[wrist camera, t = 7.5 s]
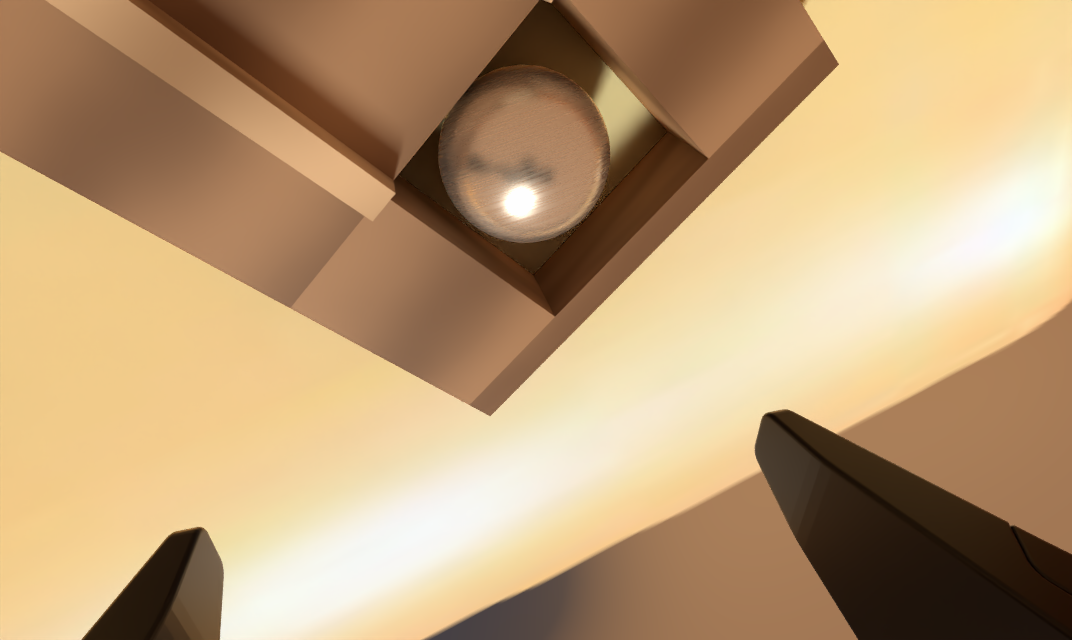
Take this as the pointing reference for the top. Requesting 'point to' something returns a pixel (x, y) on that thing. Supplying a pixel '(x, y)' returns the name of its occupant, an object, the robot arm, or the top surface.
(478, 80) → the steel ball
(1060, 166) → the top surface
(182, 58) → the hole deck
